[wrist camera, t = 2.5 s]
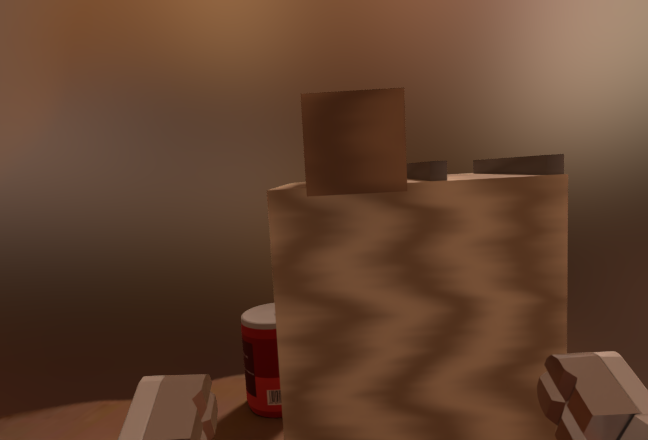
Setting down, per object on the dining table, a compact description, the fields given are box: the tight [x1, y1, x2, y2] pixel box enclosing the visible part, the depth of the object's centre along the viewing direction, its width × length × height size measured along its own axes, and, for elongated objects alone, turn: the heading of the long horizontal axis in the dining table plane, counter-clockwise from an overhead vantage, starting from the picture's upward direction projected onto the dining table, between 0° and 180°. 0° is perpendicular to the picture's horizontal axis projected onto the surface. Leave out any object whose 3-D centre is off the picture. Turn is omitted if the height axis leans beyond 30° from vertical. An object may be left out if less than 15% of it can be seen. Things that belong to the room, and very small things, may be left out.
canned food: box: [241, 303, 282, 418], centre depth 51 cm, size 8×8×11 cm
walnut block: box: [301, 88, 407, 197], centre depth 29 cm, size 4×24×4 cm, turn 179°
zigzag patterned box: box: [267, 154, 568, 440], centre depth 35 cm, size 18×16×27 cm
